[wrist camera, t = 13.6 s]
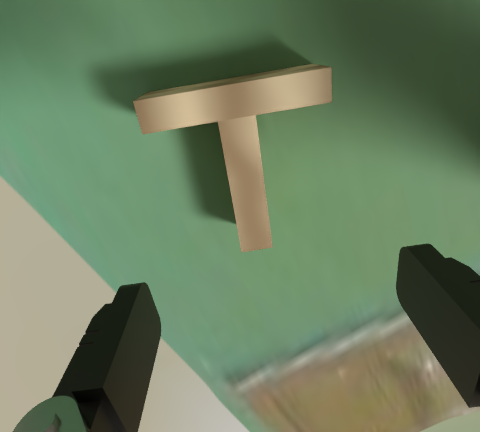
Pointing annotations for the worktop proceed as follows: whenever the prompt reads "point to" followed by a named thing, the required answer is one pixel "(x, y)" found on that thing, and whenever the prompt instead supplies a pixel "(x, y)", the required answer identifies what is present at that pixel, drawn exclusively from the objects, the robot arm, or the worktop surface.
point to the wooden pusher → (238, 128)
